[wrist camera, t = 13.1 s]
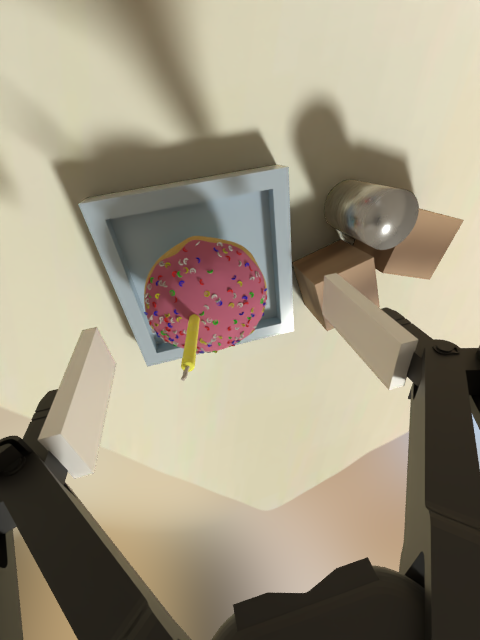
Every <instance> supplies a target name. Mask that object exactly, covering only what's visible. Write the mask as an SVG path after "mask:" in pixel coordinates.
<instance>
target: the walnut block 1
mask: <svg viewBox="0 0 480 640" xmlns="http://www.w3.org/2000/svg"><path fill="white" fill-rule="evenodd" d="M292 265H293V269H294V272H295V275H296V278H297V281H298V285H299V288H300V291H301V294H302V298H303V301H304V304H305V306H306V307H307V308H308V309H309V310H310V311H311V313H312V314H313V315H314V316H315V317H316V319H317V320H318V321H319V322H320V323H321V324H322V326H323V327H324V328H325V329H326V330H327V331H328V330H331V329H333V328H334V327H333V326H332V325H331V323H330V322H329V321H328V320H327V319H326V318H325V317H324V315H323V314H322V309H323V290H324V276H325V275H329V274H334V273H337V274H338V275H339V276H341V277H342V278H343V279H344V280H346V281H347V282H348V283H349V284H351V285H352V286H353V287H354V288H355V289H357V290H358V291H359V292H360V293H362V294H363V295H364V296H365V297H367V298H368V299H369V300H370V301H371V302H373V303H374V304H375V305H376V306H378V307H380V306H379V298H378V289H377V281H376V272H375V264H374V257H372V256H370V255H369V254H367V253H365V252H363V251H361V250H360V249H358V248H356V247H354V246H352V245H351V244H349V243H347V242H345V241H343V240H342V239H341V240H339V241H337V242H335V243H333V244H330V245H328V246H326V247H324V248H322V249H320V250H318V251H316V252H314V253H311V254H309V255H307V256H305V257H303V258H301V259H299V260H297V261H294V262H292Z"/></svg>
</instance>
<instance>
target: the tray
mask: <svg viewBox="0 0 480 640" xmlns="http://www.w3.org/2000/svg"><path fill="white" fill-rule="evenodd" d="M78 205H79V207H80V210H81V212H82V214H83V217H84V219H85V221H86V224H87V226H88V228H89V231H90V233H91V235H92V238H93V240H94V242H95V245H96V247H97V249H98V252H99V254H100V256H101V259H102V261H103V264H104V266H105V268H106V271H107V273H108V275H109V278H110V280H111V282H112V285H113V287H114V289H115V292H116V294H117V296H118V299H119V301H120V303H121V306H122V308H123V310H124V313H125V315H126V318H127V320H128V322H129V325H130V327H131V329H132V332H133V334H134V336H135V339H136V341H137V343H138V346H139V348H140V350H141V353H142V355H143V357H144V360H145V362H146V364H147V367H148V366H152V365H156V364H160V363H164V362H168V361H172V360H176V359H180V358H183V352H184V348H180V347H177V346H174V345H173V344H171V343H169V342H167V343H165V342H164V340H163V339H162V338H161V337H158V336H159V335H158V336H157V334H156V332H155V333H152V331H151V330H152V328H151V326H150V325H149V322H148V319H147V315H145V314H144V312H145V304H144V288H145V283H146V279H147V276H148V274H149V272H150V270H151V268H152V267H153V265H154V264H155V263H156V261H157V260H158V259H159V258H160V257H161V256H162V255H164V254H165V253H166V252H167V251H169V250H170V249H171V248H173V247H174V246H176V245H177V244H179V243H181V242H182V241H184V240H186V239H187V238H189V237H192V236H204V237H212V238H218V239H223V240H228V241H232V242H235V243H238V244H240V245H242V246H243V247H245V248H246V249H247V250H248V251H249V252H250V253H251V254H252V255H253V257H254V259H255V261H256V262H257V264H258V266H259V268H260V270H261V272H262V274H263V276H264V278H265V281H266V285H267V300H266V303H267V305H266V306H265V310H264V316H262V317H261V319H260V321H259V322H258V324H257V327H256V328H255V330H254V331H253V333H251V334H250V335H248V336H247V337H246V338H244V339H242V340H241V341H240V342H239V343H236V344H235V345H238V344H242V343H246V342H250V341H254V340H258V339H262V338H266V337H270V336H275V335H279V334H283V333H287V332H291V331H294V320H293V289H292V258H291V227H290V196H289V167H287V166H282V165H271V166H265V167H260V168H254V169H248V170H243V171H237V172H231V173H225V174H220V175H214V176H208V177H203V178H197V179H191V180H185V181H180V182H174V183H168V184H163V185H157V186H151V187H145V188H140V189H134V190H128V191H123V192H117V193H111V194H105V195H100V196H94V197H88V198H86V199H85V200H83V201H82V202H80V203H79V204H78ZM201 353H202V352H201ZM201 353H198V354H201ZM204 353H205V352H204ZM196 355H197V353H196Z"/></svg>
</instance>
